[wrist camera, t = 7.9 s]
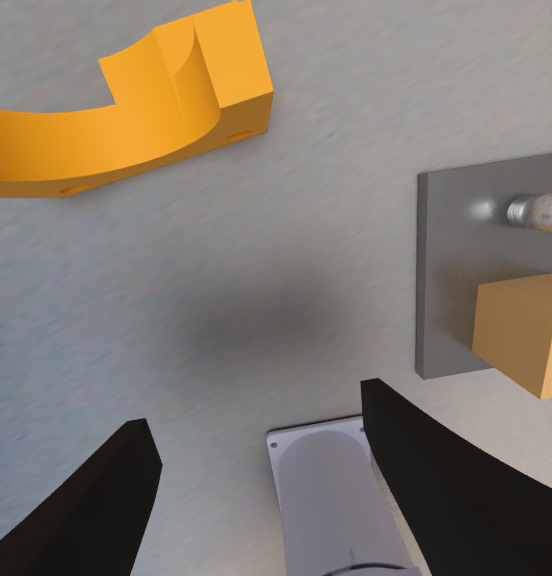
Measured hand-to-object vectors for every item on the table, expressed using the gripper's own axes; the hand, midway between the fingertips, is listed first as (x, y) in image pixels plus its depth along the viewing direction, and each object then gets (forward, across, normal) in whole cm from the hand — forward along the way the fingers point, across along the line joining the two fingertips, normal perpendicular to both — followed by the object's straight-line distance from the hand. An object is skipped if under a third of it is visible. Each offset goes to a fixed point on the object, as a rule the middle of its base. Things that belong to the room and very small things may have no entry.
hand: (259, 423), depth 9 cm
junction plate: (+10, -17, 0) cm, 20 cm away
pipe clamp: (+10, +4, -12) cm, 16 cm away
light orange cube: (+9, -17, +3) cm, 19 cm away
